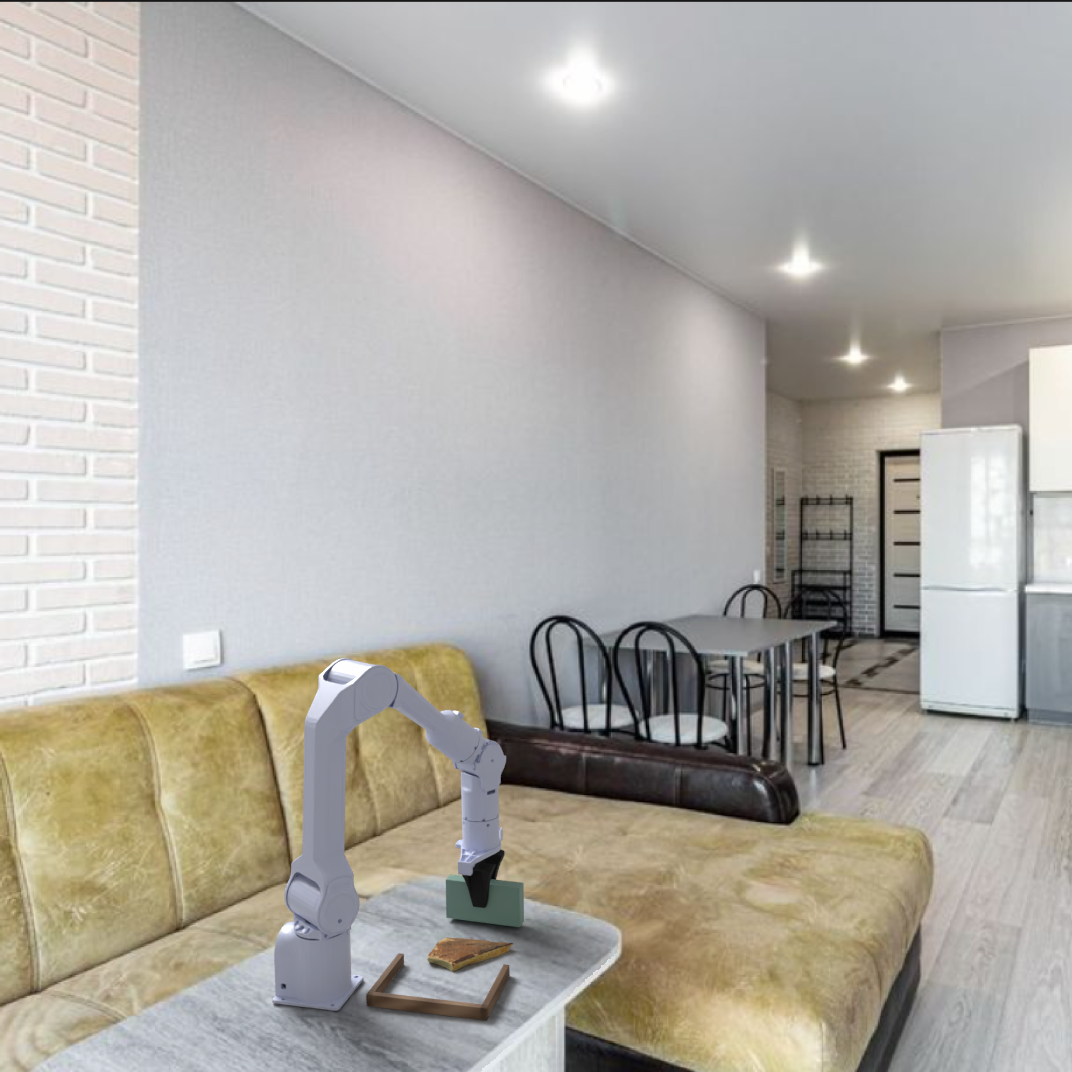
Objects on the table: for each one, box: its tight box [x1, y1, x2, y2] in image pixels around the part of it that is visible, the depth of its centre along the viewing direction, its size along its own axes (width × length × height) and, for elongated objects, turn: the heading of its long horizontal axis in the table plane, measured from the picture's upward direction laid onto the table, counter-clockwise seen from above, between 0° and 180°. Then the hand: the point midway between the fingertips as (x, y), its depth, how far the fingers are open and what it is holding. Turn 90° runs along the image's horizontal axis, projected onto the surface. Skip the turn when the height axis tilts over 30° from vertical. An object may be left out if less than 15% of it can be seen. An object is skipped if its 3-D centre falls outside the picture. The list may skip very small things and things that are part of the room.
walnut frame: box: [365, 952, 510, 1021], centre depth 118 cm, size 16×11×2 cm
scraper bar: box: [445, 874, 525, 928], centre depth 136 cm, size 12×2×6 cm, turn 73°
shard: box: [426, 937, 514, 972], centre depth 126 cm, size 11×8×2 cm
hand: (482, 902), depth 136 cm, fingers closed on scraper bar, 2 cm apart
